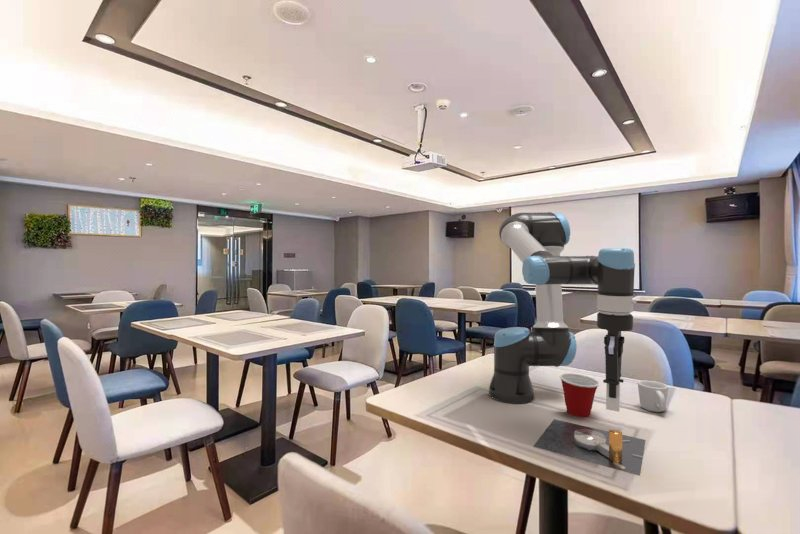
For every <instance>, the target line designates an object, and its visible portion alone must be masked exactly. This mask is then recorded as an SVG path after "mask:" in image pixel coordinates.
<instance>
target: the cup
mask: <svg viewBox="0 0 800 534" xmlns="http://www.w3.org/2000/svg"><path fill="white" fill-rule="evenodd" d="M637 387H638V389H637V390H638V396H639V397H638V398H639V405H640V407H641V408H642V409H644V410H645V411H649V412H654V413H660V412H663V411H665V410H666V407H667V399H668V391H669V386H668V385H667V384H666V383H662V382H659V381H657V380H656V381H655V380H645V379H644V380H638V382H637Z"/></svg>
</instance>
